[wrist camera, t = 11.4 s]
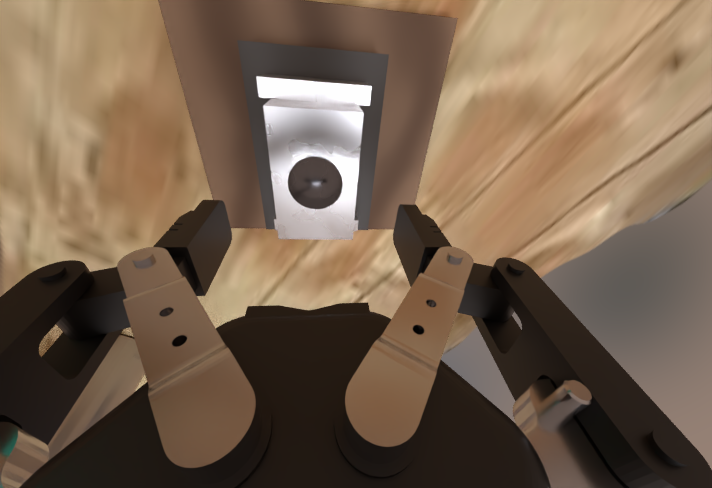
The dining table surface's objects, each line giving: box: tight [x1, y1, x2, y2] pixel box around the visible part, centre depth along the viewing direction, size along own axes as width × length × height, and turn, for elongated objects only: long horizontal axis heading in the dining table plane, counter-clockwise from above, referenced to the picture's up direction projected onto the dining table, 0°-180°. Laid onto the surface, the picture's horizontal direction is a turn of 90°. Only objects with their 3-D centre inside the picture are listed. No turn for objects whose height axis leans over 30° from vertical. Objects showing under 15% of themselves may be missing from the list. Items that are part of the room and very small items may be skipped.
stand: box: [158, 0, 458, 230], centre depth 22 cm, size 20×18×6 cm
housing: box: [256, 74, 372, 240], centre depth 17 cm, size 10×6×5 cm, turn 176°
